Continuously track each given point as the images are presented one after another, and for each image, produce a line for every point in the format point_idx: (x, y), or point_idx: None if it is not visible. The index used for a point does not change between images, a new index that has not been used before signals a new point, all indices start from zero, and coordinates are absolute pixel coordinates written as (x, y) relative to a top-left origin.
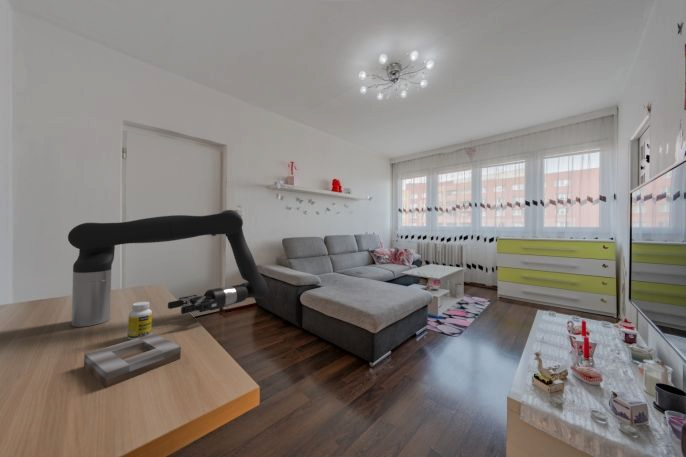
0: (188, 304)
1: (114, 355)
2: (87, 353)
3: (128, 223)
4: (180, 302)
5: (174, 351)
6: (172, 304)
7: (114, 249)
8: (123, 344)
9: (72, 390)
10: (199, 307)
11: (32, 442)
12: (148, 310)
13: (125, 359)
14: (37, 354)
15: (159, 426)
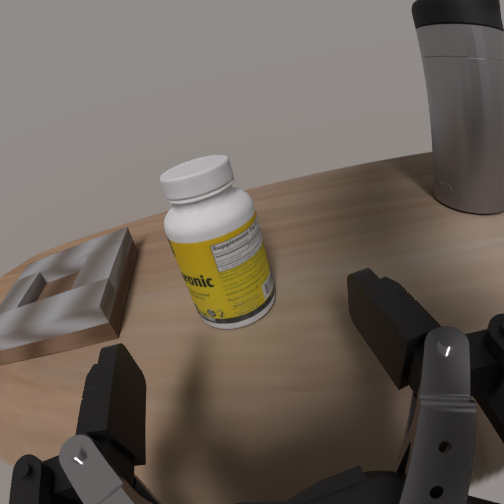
0: (401, 454)
1: (67, 260)
2: (122, 229)
3: None
4: (403, 358)
5: None
6: (361, 307)
7: None
8: (102, 261)
9: None
10: (50, 468)
11: (28, 262)
12: (179, 217)
13: (35, 274)
14: (276, 194)
15: None
